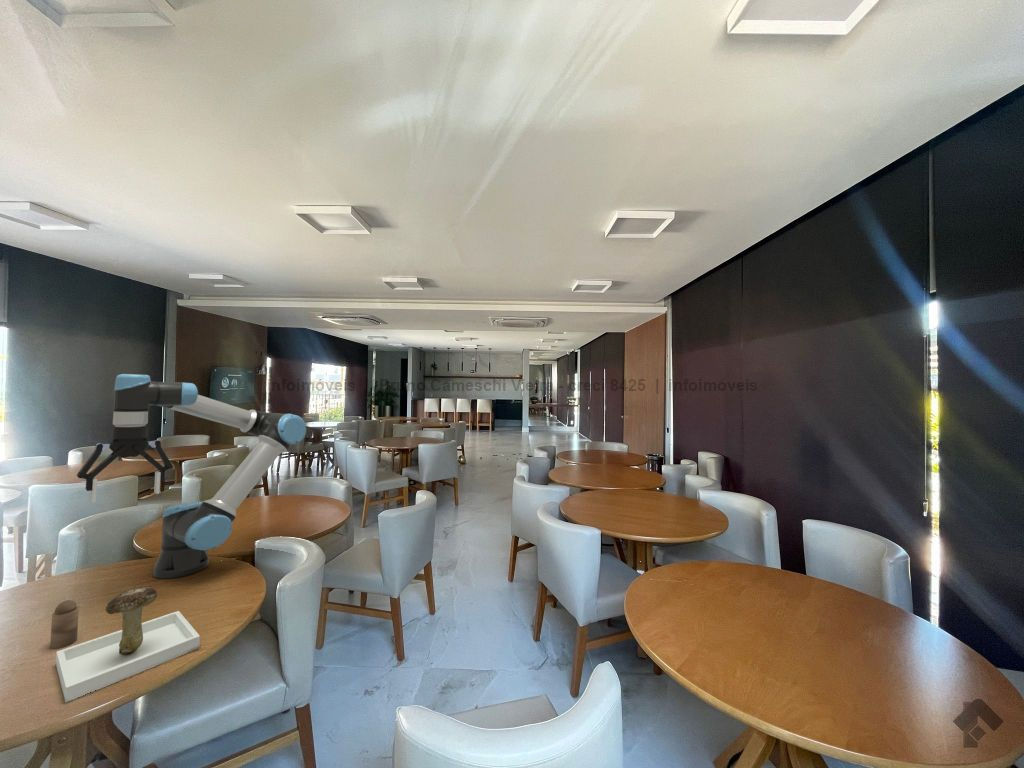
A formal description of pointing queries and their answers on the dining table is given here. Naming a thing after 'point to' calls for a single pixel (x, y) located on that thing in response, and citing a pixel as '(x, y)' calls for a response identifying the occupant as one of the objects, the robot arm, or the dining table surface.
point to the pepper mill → (64, 625)
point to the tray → (104, 664)
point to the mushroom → (131, 616)
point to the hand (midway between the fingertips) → (126, 497)
